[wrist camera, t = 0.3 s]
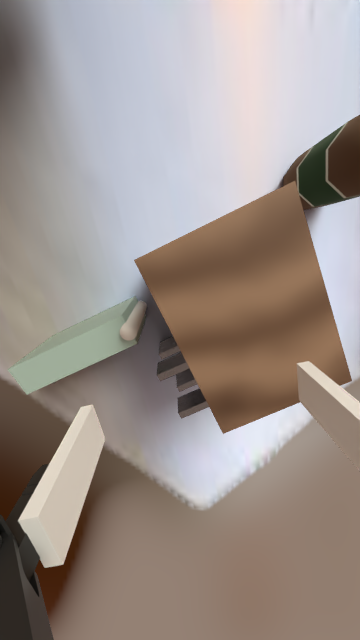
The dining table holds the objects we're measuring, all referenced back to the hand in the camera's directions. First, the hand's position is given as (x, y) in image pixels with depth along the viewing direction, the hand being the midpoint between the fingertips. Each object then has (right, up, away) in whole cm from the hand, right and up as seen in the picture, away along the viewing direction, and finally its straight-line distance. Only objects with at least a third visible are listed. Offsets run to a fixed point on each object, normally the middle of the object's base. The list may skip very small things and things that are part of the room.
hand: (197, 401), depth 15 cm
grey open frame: (0, -1, +28) cm, 28 cm away
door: (-15, +4, +26) cm, 30 cm away
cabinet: (+4, +11, +25) cm, 27 cm away
